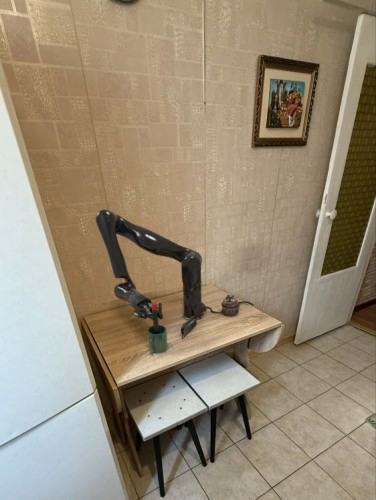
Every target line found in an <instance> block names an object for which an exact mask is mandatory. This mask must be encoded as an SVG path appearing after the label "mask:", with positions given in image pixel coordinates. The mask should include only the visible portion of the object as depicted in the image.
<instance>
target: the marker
mask: <svg viewBox="0 0 376 500" xmlns="http://www.w3.org/2000/svg"><path fill="white" fill-rule="evenodd" d="M157 305H158V303H157V302H155V301H153V302H152V312H153V314H154V315H155V316H156V317H157V321H156V322H155V321H153V320H152V321H153V325H154V331H158V330H159V325H160V324H159V318H158V312H157V309H158V308H157Z"/></svg>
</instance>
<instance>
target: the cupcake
mask: <svg viewBox="0 0 376 500" xmlns="http://www.w3.org/2000/svg"><path fill="white" fill-rule="evenodd" d="M238 302H239V300H238V299H237V298H236V297H235V295H230V294H226V295H225V297H224V299H223V300H222V301H221V303H220V305H221V310H222V312H223V314H222V315H223V316H226V317H230V318H232V317H235V316H237V315H238V314H239V311H240V308H241V304H240V303H238Z"/></svg>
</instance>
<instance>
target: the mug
mask: <svg viewBox="0 0 376 500" xmlns="http://www.w3.org/2000/svg"><path fill="white" fill-rule="evenodd" d="M158 325H159V330H158V331H154V324H153V325H151V326H148V328H147V337H148V338H147V340H148V347H149V351H150V353H151V354H152V353H154V354H162V353H165V352H167V350H168V348H169V347H168V332H167V331H168V330H167V327H166V326H164V325H162V324H158Z"/></svg>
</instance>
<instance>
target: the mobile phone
mask: <svg viewBox="0 0 376 500" xmlns="http://www.w3.org/2000/svg"><path fill="white" fill-rule="evenodd" d="M197 320H198V319H196V316H192V317H191V318H190V319H189V320H186V321H185V322H183V324H182V325H181V327H180V334H181V338H182V339H183V338H185V336H186V335H188V334H189V332H191V331H192V329H194V328H195V327H196V325H197V324H198V323H197Z"/></svg>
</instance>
